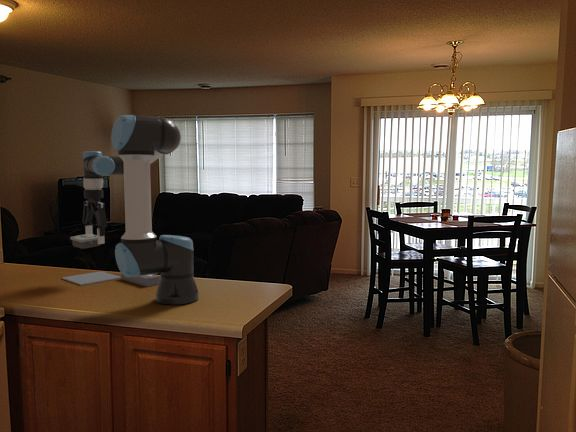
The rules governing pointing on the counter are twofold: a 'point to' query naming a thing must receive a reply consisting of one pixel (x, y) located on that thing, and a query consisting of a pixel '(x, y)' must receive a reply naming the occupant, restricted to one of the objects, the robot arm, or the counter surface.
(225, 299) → the counter surface
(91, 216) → the robot arm
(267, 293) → the counter surface
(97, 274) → the mat
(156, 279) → the power strip
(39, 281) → the counter surface
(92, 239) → the electrical switch
